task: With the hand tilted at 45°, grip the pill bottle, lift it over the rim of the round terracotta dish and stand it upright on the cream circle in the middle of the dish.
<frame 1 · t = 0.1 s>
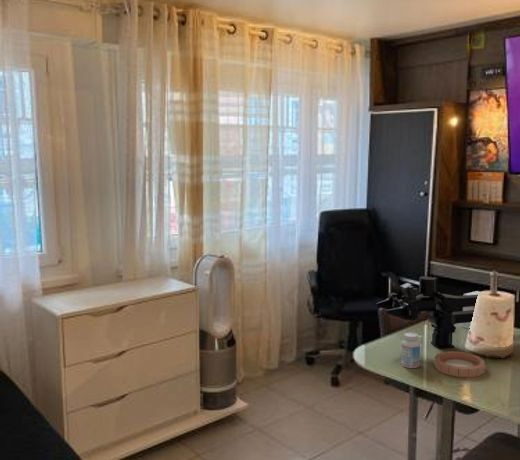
hand: (381, 308, 197), 17 cm above the table, tool horizontal, fingers open, 9 cm apart
pill bottle: (410, 365, 186), on the table
skincare box: (474, 328, 225), on the table
round dish: (459, 367, 183), on the table
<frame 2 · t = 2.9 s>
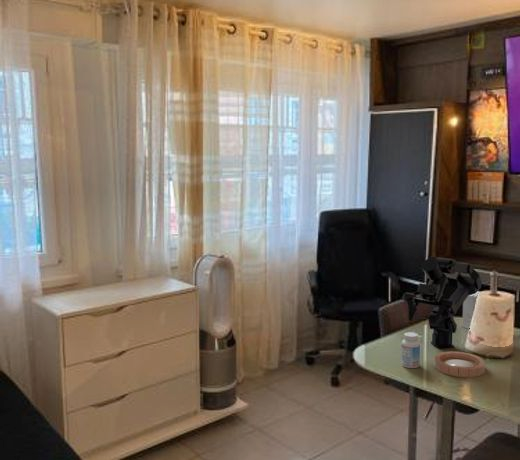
hand: (421, 323, 190), 13 cm above the table, tool tilted 45°, fingers open, 9 cm apart
nothing on the table moved.
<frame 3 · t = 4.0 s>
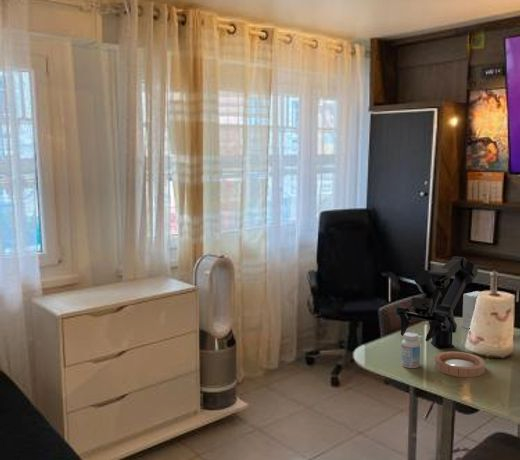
hand: (413, 338, 186), 9 cm above the table, tool tilted 45°, fingers open, 9 cm apart
nothing on the table moved.
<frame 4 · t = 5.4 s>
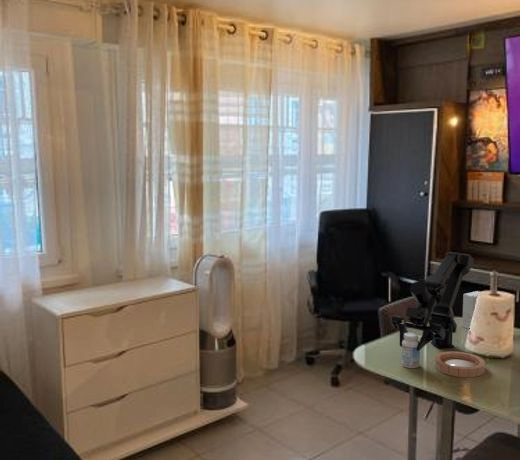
hand: (408, 348, 184), 7 cm above the table, tool tilted 45°, fingers closed on pill bottle, 6 cm apart
pill bottle: (410, 365, 186), on the table, touching gripper
everything else where it was.
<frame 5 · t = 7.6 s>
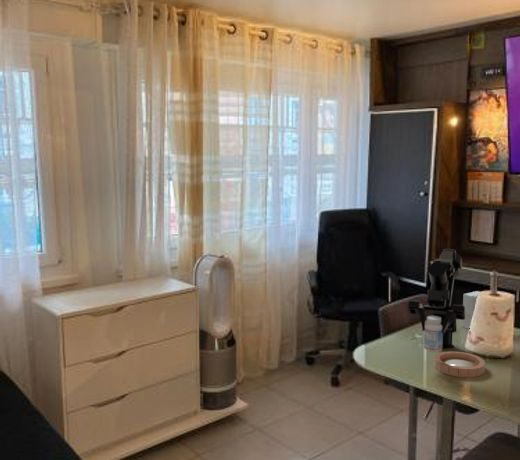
hand: (433, 331, 180), 13 cm above the table, tool tilted 45°, fingers closed on pill bottle, 6 cm apart
pill bottle: (432, 349, 183), point 6 cm above the table, touching gripper
everything else where it was.
when the fingers open (9 cm above the table, at t = 9.9 s): pill bottle drops 1 cm, resting on round dish.
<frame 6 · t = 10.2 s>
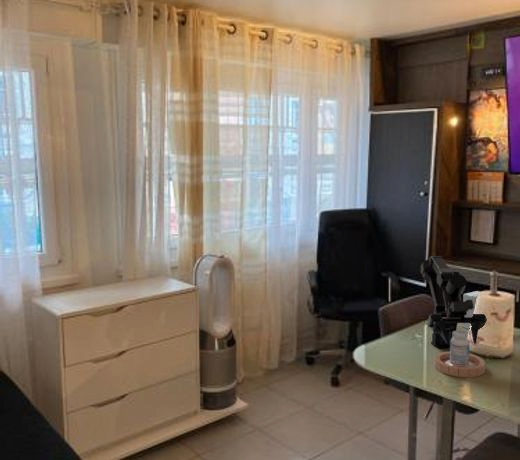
hand: (461, 343, 180), 9 cm above the table, tool tilted 45°, fingers open, 9 cm apart
pill bottle: (459, 364, 183), point 1 cm above the table, touching round dish
everything else where it was.
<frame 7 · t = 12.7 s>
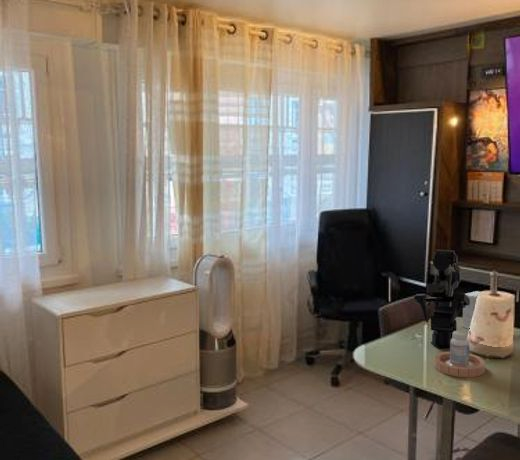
hand: (439, 322, 190), 14 cm above the table, tool tilted 35°, fingers open, 9 cm apart
nothing on the table moved.
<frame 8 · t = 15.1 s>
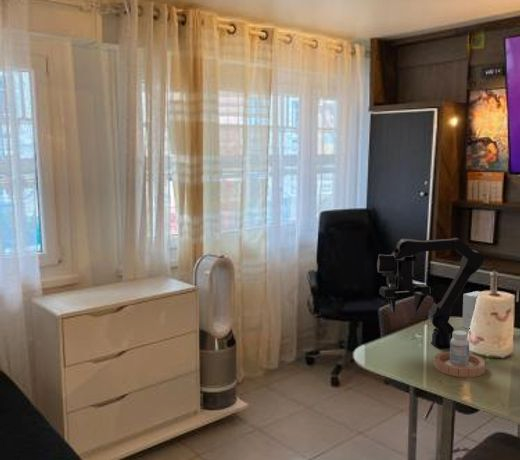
hand: (404, 312, 204), 13 cm above the table, tool pointing down, fingers open, 9 cm apart
nothing on the table moved.
at the end: pill bottle inside the target area on the round dish (0.1 cm from its centre), point 1.0 cm above the round dish's base; pill bottle tilted 0°; the gripper is holding nothing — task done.
